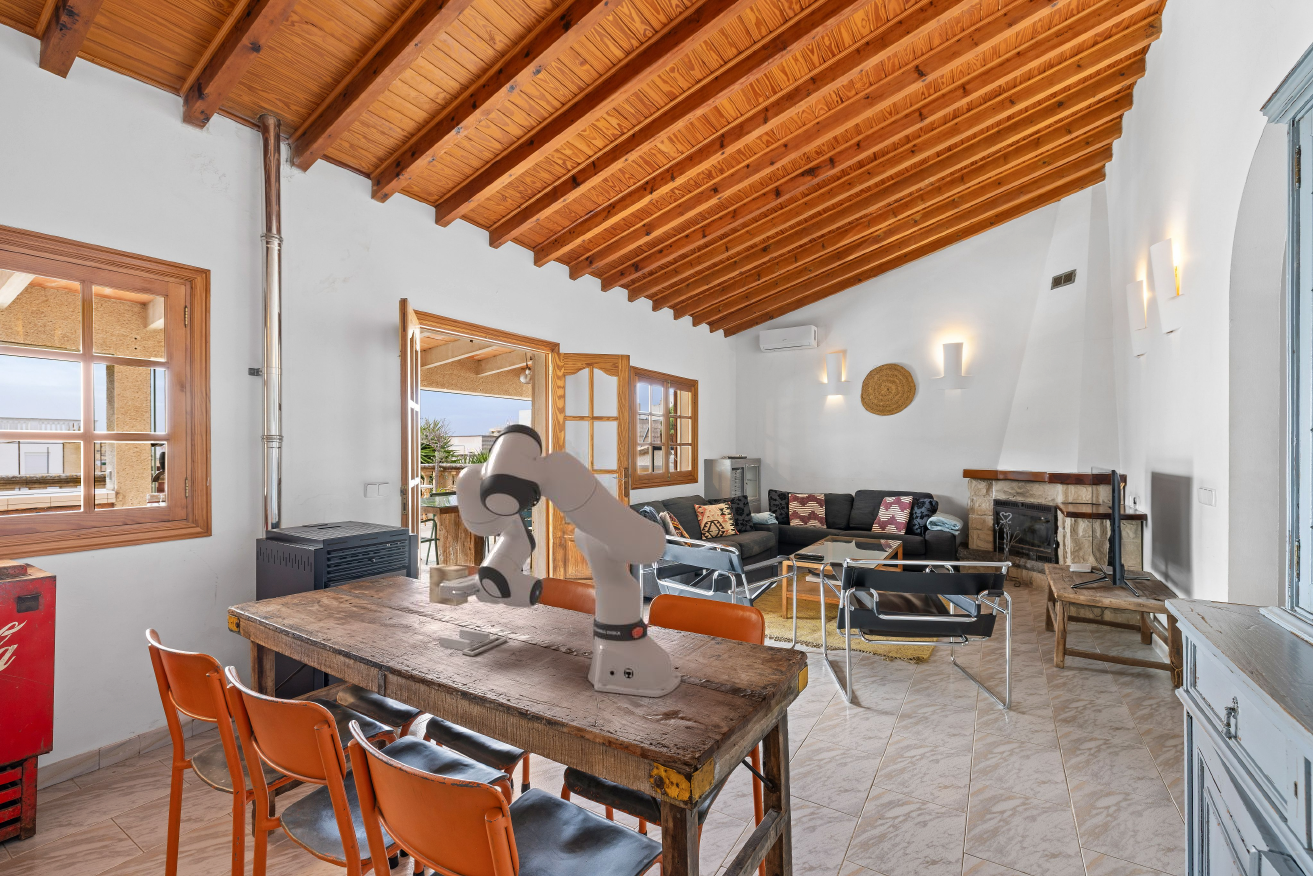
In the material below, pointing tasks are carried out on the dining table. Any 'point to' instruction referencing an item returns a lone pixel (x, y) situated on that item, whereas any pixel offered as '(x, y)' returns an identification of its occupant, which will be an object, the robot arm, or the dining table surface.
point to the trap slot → (484, 646)
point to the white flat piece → (464, 644)
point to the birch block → (442, 574)
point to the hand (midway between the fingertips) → (451, 581)
